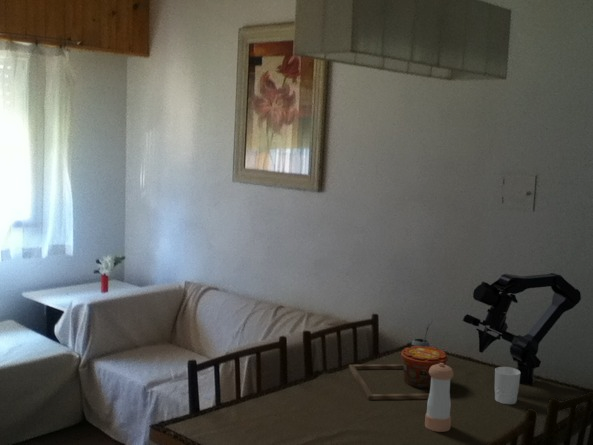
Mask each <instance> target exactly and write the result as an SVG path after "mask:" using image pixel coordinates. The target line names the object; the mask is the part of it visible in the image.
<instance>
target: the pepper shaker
mask: <svg viewBox="0 0 593 445" xmlns="http://www.w3.org/2000/svg"><path fill="white" fill-rule="evenodd" d="M429 374H430V376H431V387H430V389H429V393H430V394H429V398H428V399H427V403H426V404H427V406H426V413H425V415H424V416H425V417H424V418H425V420H424V426H425V428H426V429H427V430H429V431H433V432H438V433H441V432H444V433H445V432H448V431H450V430H451V426H452V424H451V422H452V416H451V407H452V406H451V405H452V403H451V393H450V390H451V379H452V378H453V377H454V375H455V374H454V371H453V369H452V367H451V366H449V365H447V364H446V365H444V363H439V364H436V365H433V366H431V367H430V369H429Z"/></svg>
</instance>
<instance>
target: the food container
mask: <svg viewBox="0 0 593 445" xmlns="http://www.w3.org/2000/svg"><path fill="white" fill-rule="evenodd" d="M400 355H401V357H402V364H403V369H402V370H403V380H404V382H405V384H406V385H408V386H410V387H413V388H416V389H424V390H425V389H426V390H428V389H429V390H430V387H431V376H430V374H429V369H430V367H431V366H433V365H436V364H439V363H444V365H447V362H448V361H449V356H448V354H447V353H446V352H445V350H442V349H437V348H436V347H432V346H430V347H427V346H426V347H422V346H412V347H411V346H410V347H405V348H404V349H402V351H401V353H400Z"/></svg>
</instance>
